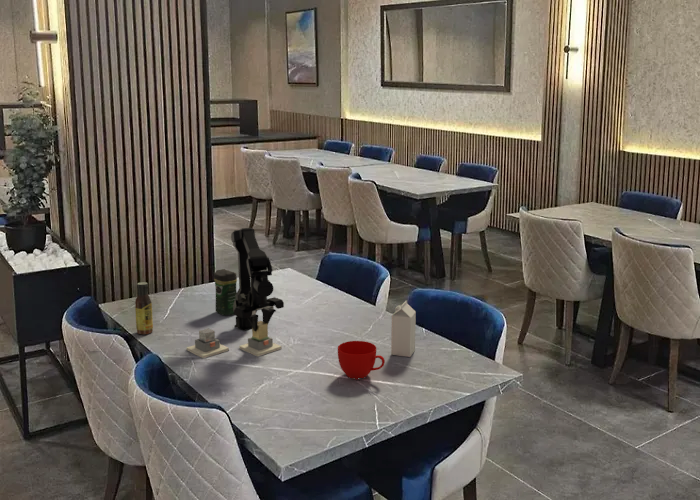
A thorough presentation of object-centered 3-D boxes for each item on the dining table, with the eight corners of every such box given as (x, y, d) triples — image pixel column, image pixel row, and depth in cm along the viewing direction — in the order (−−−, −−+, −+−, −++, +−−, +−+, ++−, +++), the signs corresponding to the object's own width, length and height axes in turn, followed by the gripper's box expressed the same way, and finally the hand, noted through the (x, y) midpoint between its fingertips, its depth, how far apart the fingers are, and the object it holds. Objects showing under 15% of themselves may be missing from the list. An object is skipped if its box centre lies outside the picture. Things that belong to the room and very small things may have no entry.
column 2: (261, 336, 277) (260, 320, 275) (268, 338, 274) (267, 323, 272) (252, 338, 274) (251, 323, 272) (259, 341, 271) (258, 326, 269)
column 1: (209, 343, 275) (208, 328, 274) (215, 346, 273) (214, 331, 271) (199, 346, 273) (198, 330, 271) (205, 349, 270) (205, 333, 268)
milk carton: (415, 350, 273) (416, 301, 269) (410, 357, 267) (411, 306, 262) (396, 348, 275) (397, 299, 271) (390, 355, 269) (391, 304, 264)
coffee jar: (241, 313, 314) (239, 271, 310) (225, 317, 309) (223, 274, 304) (228, 308, 321) (226, 266, 317) (212, 312, 316) (210, 269, 311)
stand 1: (211, 342, 280) (211, 332, 280) (228, 350, 273) (228, 340, 272) (186, 350, 273) (185, 339, 272) (203, 358, 265) (202, 347, 264)
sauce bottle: (148, 335, 288) (145, 286, 283) (133, 334, 289) (130, 285, 284) (156, 330, 294) (153, 281, 289) (141, 329, 295) (138, 280, 290)
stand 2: (263, 341, 282) (263, 331, 281) (281, 348, 274) (281, 338, 274) (239, 348, 275) (239, 338, 274) (257, 356, 267) (257, 346, 266)
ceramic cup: (374, 389, 240) (374, 360, 238) (330, 377, 249) (330, 349, 247) (393, 375, 251) (393, 347, 249) (350, 365, 260) (350, 338, 257)
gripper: (265, 279, 281) (266, 318, 285) (224, 289, 269) (226, 330, 272) (284, 285, 273) (285, 325, 277) (242, 296, 261) (244, 338, 264)
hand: (259, 329), depth 273 cm, fingers closed on column 2, 4 cm apart
